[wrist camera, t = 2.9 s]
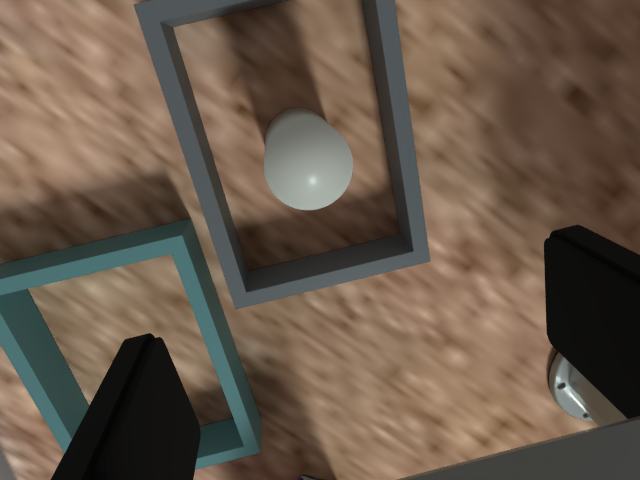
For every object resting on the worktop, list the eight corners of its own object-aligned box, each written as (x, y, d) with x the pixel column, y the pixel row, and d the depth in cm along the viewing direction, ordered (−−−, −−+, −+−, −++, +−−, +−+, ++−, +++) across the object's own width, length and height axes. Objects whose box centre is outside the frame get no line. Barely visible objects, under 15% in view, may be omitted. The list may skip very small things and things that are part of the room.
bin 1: (190, 218, 36) (182, 235, 33) (261, 421, 44) (260, 452, 41) (-2, 264, 36) (-33, 287, 32) (104, 460, 44) (89, 496, 40)
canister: (323, 100, 34) (343, 111, 25) (336, 165, 36) (360, 198, 27) (257, 116, 34) (253, 133, 25) (274, 180, 36) (276, 219, 27)
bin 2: (373, -40, 31) (387, -55, 27) (415, 243, 39) (430, 261, 36) (150, 12, 31) (133, 4, 27) (238, 286, 39) (235, 309, 35)
